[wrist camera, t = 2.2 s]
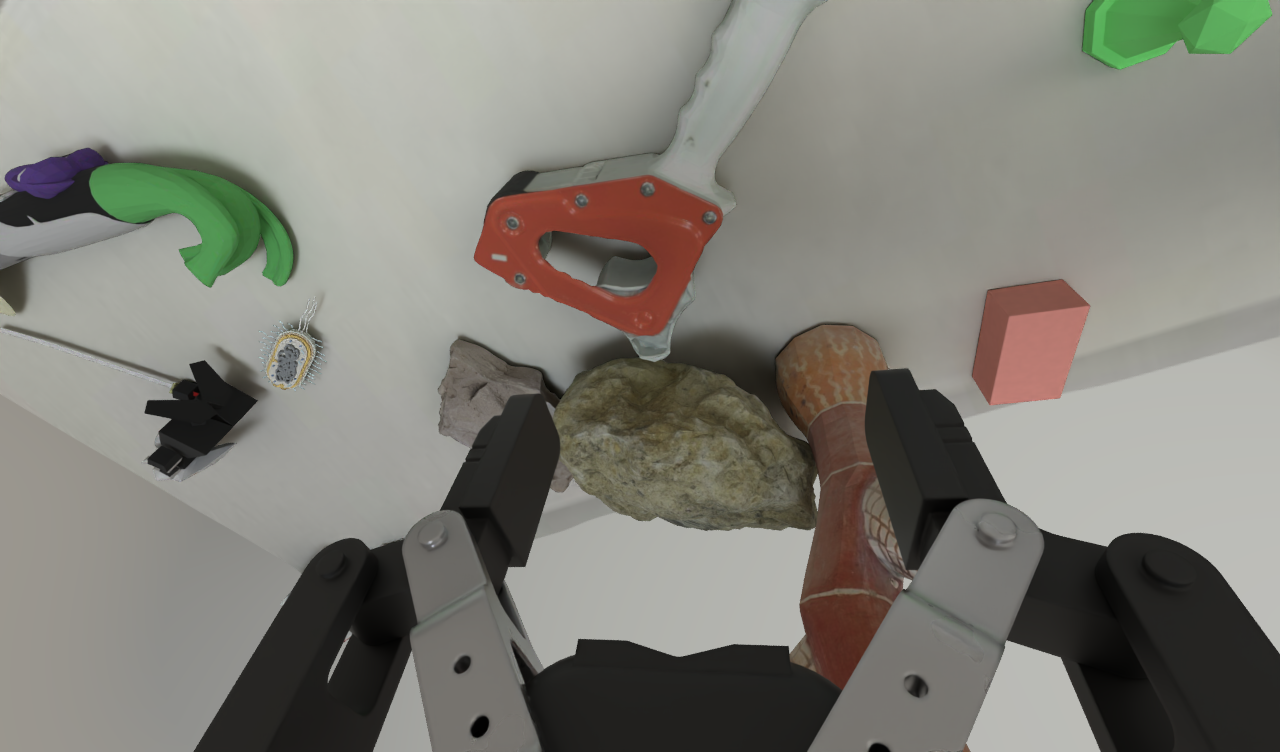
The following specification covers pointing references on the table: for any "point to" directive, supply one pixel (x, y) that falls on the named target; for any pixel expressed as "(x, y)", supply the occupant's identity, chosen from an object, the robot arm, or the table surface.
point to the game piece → (1168, 27)
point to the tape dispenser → (646, 192)
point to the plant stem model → (840, 500)
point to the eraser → (1028, 341)
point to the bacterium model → (291, 356)
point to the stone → (487, 396)
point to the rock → (683, 448)
